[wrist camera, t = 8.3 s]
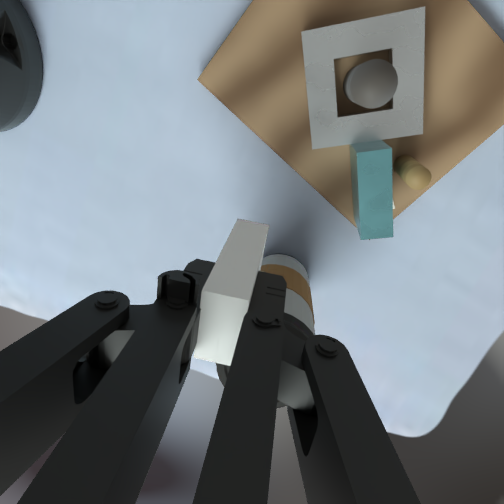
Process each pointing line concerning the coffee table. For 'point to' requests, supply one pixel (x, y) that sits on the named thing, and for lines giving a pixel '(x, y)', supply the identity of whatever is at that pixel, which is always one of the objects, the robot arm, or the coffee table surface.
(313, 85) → the flange
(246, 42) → the post base
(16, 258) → the coffee table surface
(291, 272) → the coffee cup
